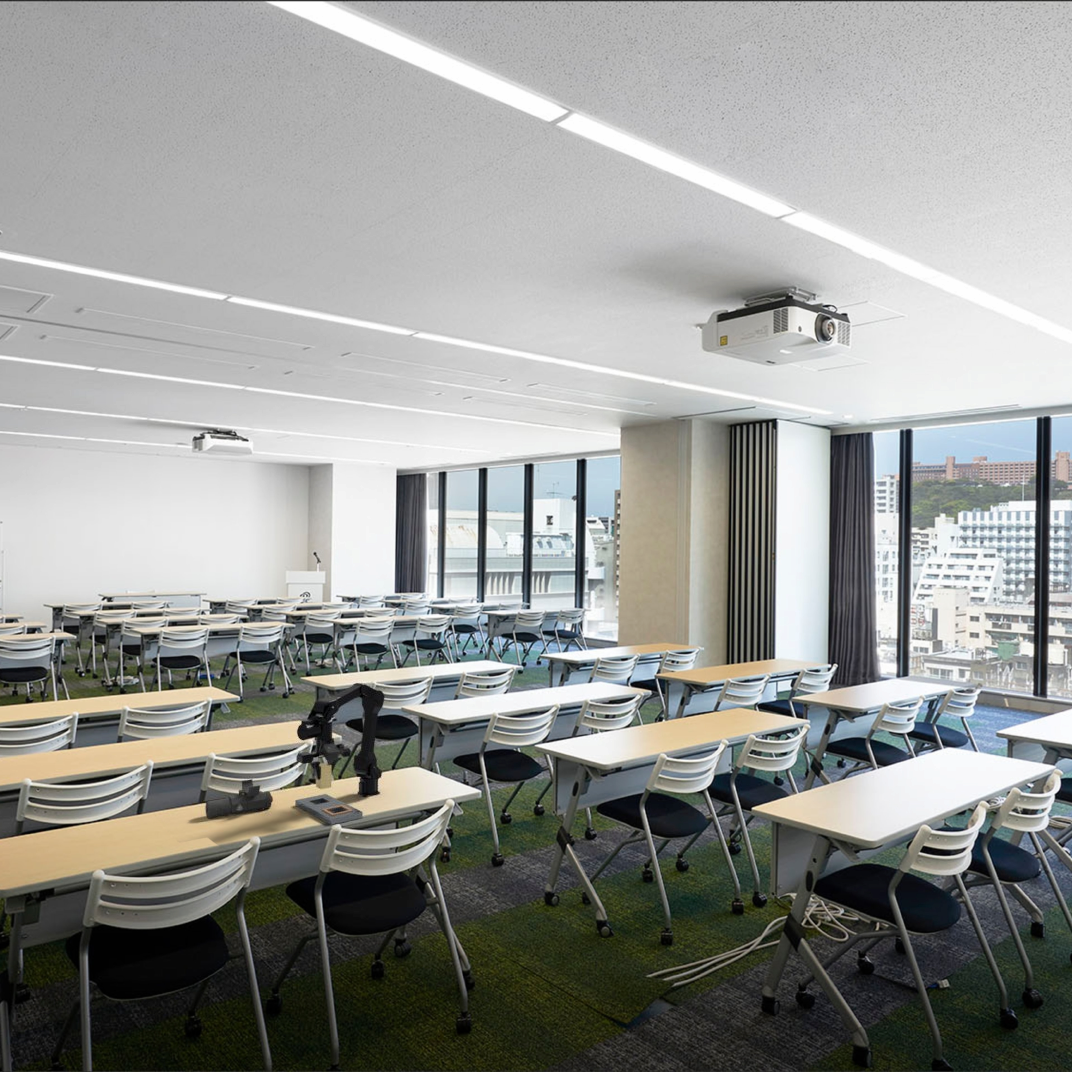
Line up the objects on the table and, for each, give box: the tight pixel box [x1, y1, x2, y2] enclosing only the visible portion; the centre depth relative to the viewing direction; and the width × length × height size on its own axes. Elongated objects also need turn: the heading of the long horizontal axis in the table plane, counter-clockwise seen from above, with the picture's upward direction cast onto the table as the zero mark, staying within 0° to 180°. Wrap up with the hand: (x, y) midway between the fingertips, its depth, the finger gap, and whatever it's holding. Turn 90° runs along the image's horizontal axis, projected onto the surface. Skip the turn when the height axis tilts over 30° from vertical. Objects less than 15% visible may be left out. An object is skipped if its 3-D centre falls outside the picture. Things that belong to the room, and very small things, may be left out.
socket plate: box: [294, 793, 364, 826], centre depth 302 cm, size 12×28×2 cm, turn 41°
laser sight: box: [204, 778, 274, 819], centre depth 301 cm, size 10×22×10 cm, turn 125°
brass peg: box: [315, 762, 332, 790], centre depth 305 cm, size 4×4×8 cm
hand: (323, 778), depth 305 cm, fingers closed on brass peg, 4 cm apart
